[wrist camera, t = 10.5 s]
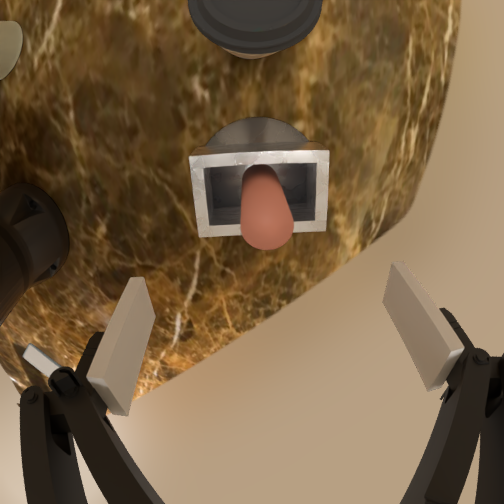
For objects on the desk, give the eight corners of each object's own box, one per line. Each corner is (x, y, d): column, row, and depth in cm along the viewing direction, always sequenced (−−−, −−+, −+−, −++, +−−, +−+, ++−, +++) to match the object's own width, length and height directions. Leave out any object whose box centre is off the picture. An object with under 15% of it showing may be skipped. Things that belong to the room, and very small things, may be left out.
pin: (243, 198, 34) (242, 251, 24) (240, 164, 32) (238, 202, 22) (278, 196, 34) (293, 248, 24) (277, 162, 32) (294, 200, 22)
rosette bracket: (204, 235, 37) (197, 261, 32) (191, 121, 31) (180, 127, 25) (317, 229, 37) (328, 254, 32) (319, 116, 30) (334, 121, 25)
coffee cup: (309, 46, 26) (357, 16, 13) (236, 83, 29) (229, 75, 16) (266, -16, 22) (281, -81, 9) (193, 21, 25) (155, -26, 12)
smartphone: (29, 343, 48) (84, 384, 54) (31, 340, 49) (85, 381, 54) (21, 356, 51) (72, 394, 56) (23, 353, 52) (73, 391, 57)
